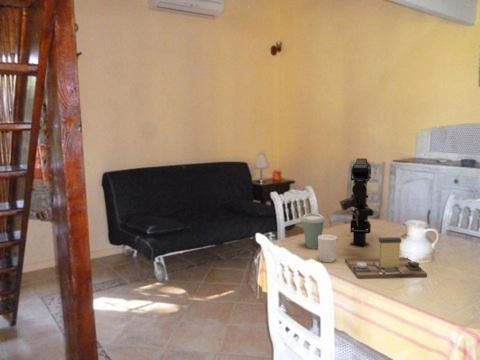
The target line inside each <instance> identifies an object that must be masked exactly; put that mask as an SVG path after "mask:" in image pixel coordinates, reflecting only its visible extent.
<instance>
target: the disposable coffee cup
mask: <svg viewBox="0 0 480 360" xmlns="http://www.w3.org/2000/svg"><path fill="white" fill-rule="evenodd" d="M301 223H302V229H303V234H304V241H305V245H306V247H307V248H309V249H318V236H319V235H323V229H324V223H325V217H324V216H323V215H322V214H319V213H312V212H311V213H306V214H303V216H302V217H301Z"/></svg>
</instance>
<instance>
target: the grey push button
mask: <svg viewBox="0 0 480 360" xmlns="http://www.w3.org/2000/svg"><path fill="white" fill-rule="evenodd" d="M357 267H358V268H361V269H365V268H367V263H365V262H357Z"/></svg>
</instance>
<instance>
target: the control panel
mask: <svg viewBox="0 0 480 360" xmlns="http://www.w3.org/2000/svg"><path fill="white" fill-rule="evenodd" d="M405 257H406V256H404V257H403V256H399V267H395V268H396V269H397V272H385V271H384V270H383V269H382V268H380V267H379V257H355V258H354V257H353V258H352V257H350V258H344V263H345V264H346V265H347V267H348V268H349V269H350V270H351V272H352V273H353V274H354V276H355V277H356V278H357V279H362V280H363V279H394V278H395V279H397V278H398V279H399V278H428V272H426V270H424V269H422V267H420V265H419V266H411V265H409V264H408V262H413V261H412V260H411V259H410V258H409V257H407V258H405ZM408 258H409V259H408ZM357 262H365V263H367V268H365V269H361V268H358V267H357Z"/></svg>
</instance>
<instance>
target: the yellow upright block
mask: <svg viewBox="0 0 480 360" xmlns="http://www.w3.org/2000/svg"><path fill="white" fill-rule="evenodd" d="M378 242H379V252H378V253H379V254H378V255H379V257H378V258H379V267H380V268H382V269H383V270H384V271H385V272H397V269H396V268H395V267H399V257H400V248H401V247H400V246H401V243H402V239H401V238H400V237H399V236H397V237H394V236H393V237H392V236H391V237H378Z"/></svg>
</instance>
